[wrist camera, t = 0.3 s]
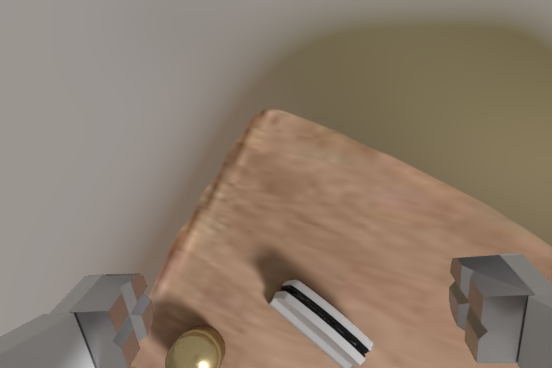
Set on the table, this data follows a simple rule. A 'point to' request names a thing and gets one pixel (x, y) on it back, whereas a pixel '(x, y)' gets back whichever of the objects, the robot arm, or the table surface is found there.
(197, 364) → the cylinder
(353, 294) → the table surface
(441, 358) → the table surface
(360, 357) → the grey bevelled device
